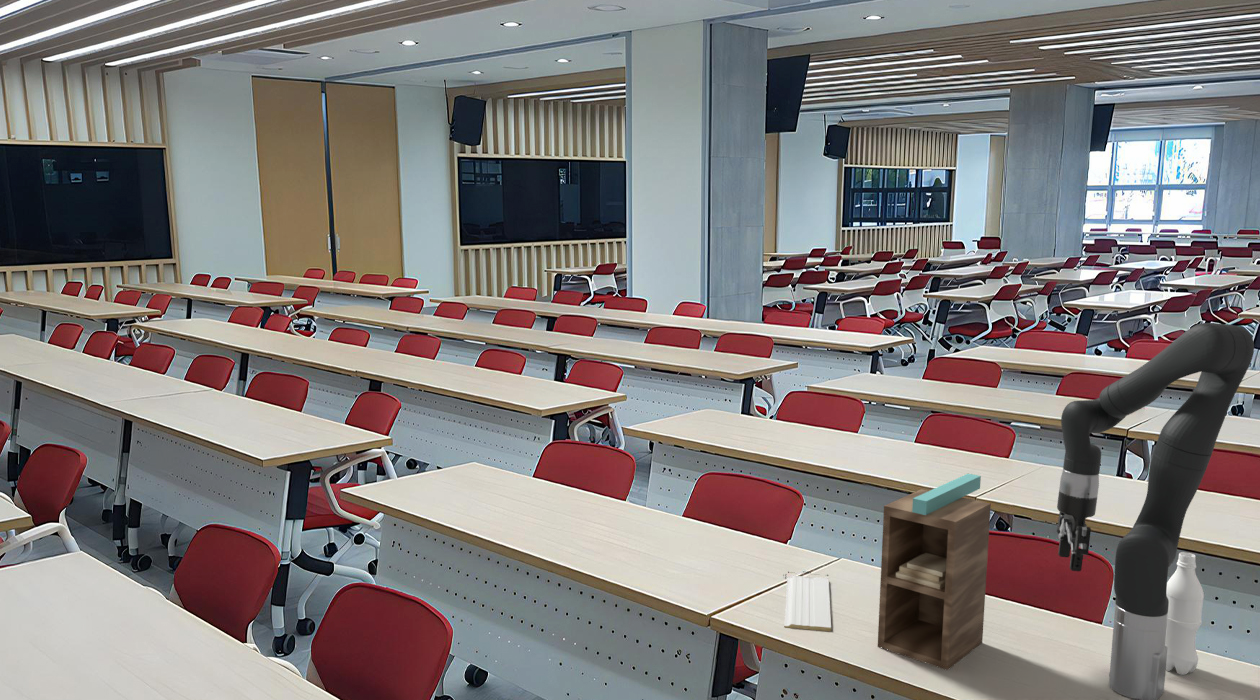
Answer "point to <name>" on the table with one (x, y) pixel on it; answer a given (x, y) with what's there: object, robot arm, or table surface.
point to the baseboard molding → (807, 603)
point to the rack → (933, 580)
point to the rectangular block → (945, 494)
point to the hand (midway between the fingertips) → (1069, 563)
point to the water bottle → (1183, 615)
